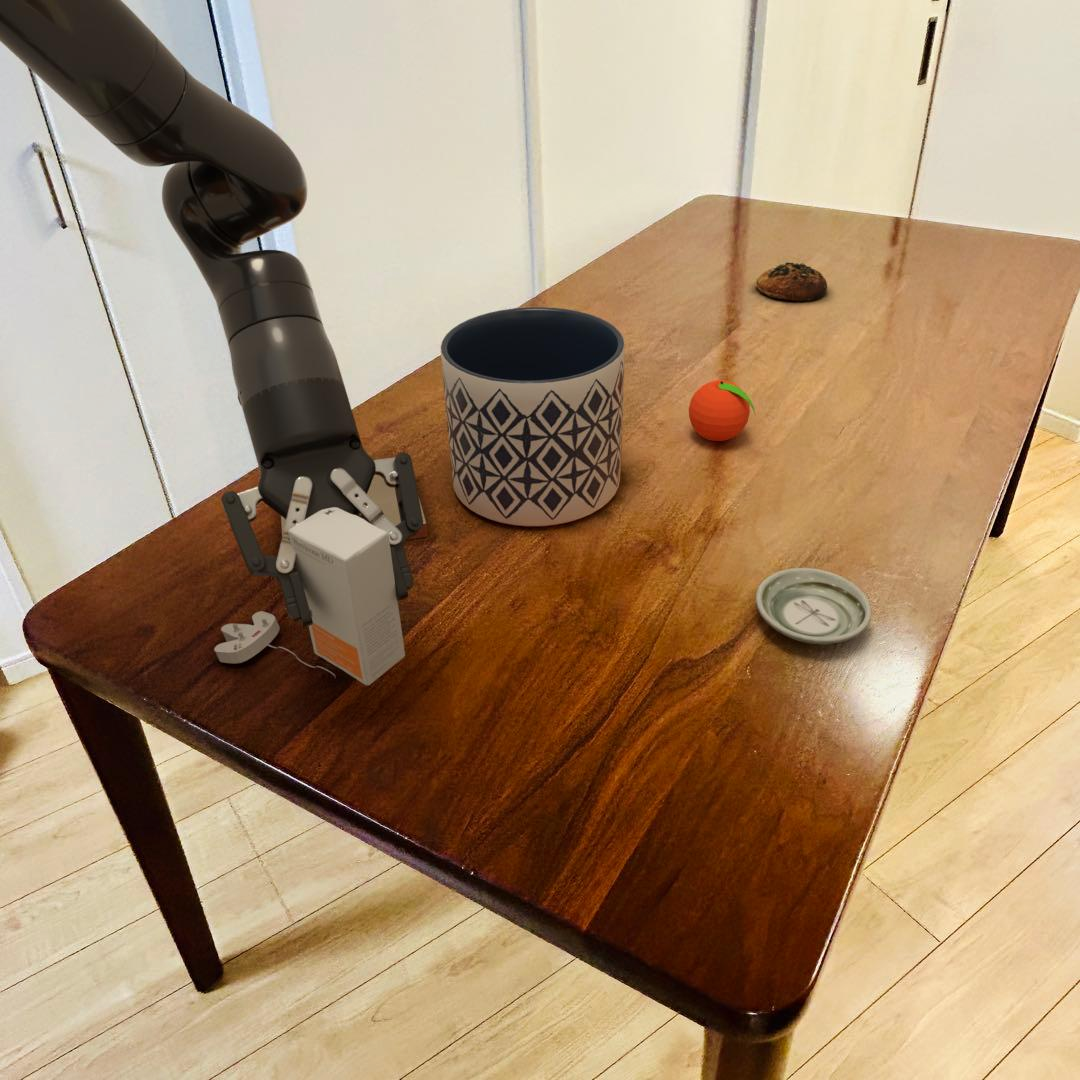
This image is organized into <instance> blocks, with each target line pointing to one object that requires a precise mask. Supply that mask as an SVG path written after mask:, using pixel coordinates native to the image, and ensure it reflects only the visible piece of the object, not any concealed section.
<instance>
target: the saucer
mask: <svg viewBox="0 0 1080 1080" xmlns="http://www.w3.org/2000/svg"><path fill="white" fill-rule="evenodd" d="M755 605H756V609H757V611H758V613H759V615H760V616H761V618H762V619H763V620H764V622H765V623H766V624H768V625H769V626H770V627H771V628H772V629H774V630H775V631H776V632H778V633H780V634H782V636H786V637H787V638H789V639H792V640H794V641H797V642H800V643H805V644H810V645H832V644H840V643H844V642H847V641H850V640H852V639H854V638H856V637H858V636H859V635H861V634H862V633H863V632H865V631H866V629H867V627H868V626H869V625H870V622H871V620H872V616H873V615H872V614H873V613H872V611H873V609H872V606H871V603H870V601H869V599H868V597H867V595H866V594H865V593H864V592H863V590H862V589H860V588H859V587H858V586H857V585H856V584H855V583H853V582H852V581H850V580H848V579H847V578H846V577H844V576H840V575H839V574H836V573H833V572H831V571H827V570H825V569H824V570H823V569H818V568H812V567H793V568H786V569H782V570H779V571H776V572H774V573H772V574H770V575H769V576H767V577H766V578H764V580H762V581H761V582H760V584H759V585H758V587H757V588H756V592H755Z"/></svg>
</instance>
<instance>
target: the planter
mask: <svg viewBox="0 0 1080 1080" xmlns="http://www.w3.org/2000/svg"><path fill="white" fill-rule="evenodd" d="M625 344H626V343H625V339H624V337H623V335H622V333H621V331H620V330H618V328H617V327H616V326H615V325H613V324H611V323H610V322H609V321H607V320H605V319H603V318H601V317H598V316H597V315H596V316H595V315H593V314H590V313H587V312H583V311H579V310H573V309H566V308H559V307H545V306H535V307H532V306H531V307H529V306H528V307H515V308H507V309H506V308H505V309H500V310H495V311H491V312H487V313H483V314H480V315H477V316H474V317H471V318H468V319H467V320H465V321H462V322H461V323H459V324H457V325H455V326H454V327H453V328H452V329H450V331H448V332H447V333H446V334H445V336H444V337H443V339H442V341H441V344H440V358H441V359H440V360H441V371H442V383H443V384H442V385H443V394H444V395H443V396H444V405H445V406H444V407H445V416H446V427H447V437H448V448H449V458H450V459H449V460H450V469H451V478H452V487H453V490H454V493H455V495H456V497H457V498H458V500H459V501H460V502H461V503H462V504H463V505H464V506H465V507H466V508H468V509H469V510H470V511H472V512H474V513H475V514H477V515H479V516H481V517H484V518H485V519H488V520H491V521H494V522H497V523H501V524H505V525H506V524H507V525H512V526H518V527H519V526H520V527H521V526H522V527H546V526H547V527H548V526H554V525H556V526H557V525H561V524H566V523H570V522H573V521H577V520H580V519H582V518H585V517H587V516H590V515H592V514H593V513H595V512H597V511H599V510H600V509H602V508H603V507H605V506H606V505H607V504H608V503H609V502H610V501H611V500H612V499H613V497H614V496H615V495H616V493H617V491H618V490H619V487H620V483H621V482H620V481H621V465H622V441H623V440H622V439H623V418H624V417H623V413H624V412H623V411H624V388H625V387H624V386H625V384H624V382H625V353H626V352H625V349H626V347H625V346H626V345H625Z"/></svg>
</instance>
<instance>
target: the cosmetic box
mask: <svg viewBox="0 0 1080 1080" xmlns="http://www.w3.org/2000/svg"><path fill="white" fill-rule="evenodd" d="M288 534H289V538H290V543H291V546H292V548H293V549H294V550H295V552H296V553H297V554H296V559H295V565H294V567H295V571H296V572H299V574H300V578H301V581H302V585H303V588H304V592H305V595H306V599H307V602H308V606H309V609H310V613H311V617H312V621H313V624H312V625H310V626H308V630H309V634H310V639H311V643H312V648H313V649H312V650H313V652H314V654H315V655H316V656H318V657H320V658H322V659H324V660H325V661H326V662H328V663H329V664H332V665H333V666H335V667H337V668H338V669H340V670H342V671H343V672H345V673H346V674H348V675H349V676H351V677H352V678H354V679H356V680H357V681H358V682H360V683H362V684H363V685H364V686H370V685H372V684H373V683H374V682H375V681H377V680H378V679H379V678H380V677H381V676H383V675H384V674H385V673H386V672H387V671H389V670H390V669H391V668H393V667H394V666H395V665H396V664H398V663H399V662H400V661H402V660H403V659H404V658H405V657H406V651H405V644H404V635H403V630H402V623H401V615H400V608H399V601H398V600H397V593H396V586H395V579H394V572H393V564H392V557H391V550H390V542H389V535H388V532H386V531H384V530H382V529H380V528H378V527H376V526H374V525H372V524H370V523H368V522H367V521H366V520H364V519H362V518H360V517H358V516H356V515H353V514H350V513H348V512H346V511H344V510H342V509H340V508H337V507H332V508H327V509H323V510H320V511H318V512H317V513H315V514H313V515H312V516H310V517H308V518H307V519H305V520H304V521H302V522H300V523H298V524H297V525H295V526H294V527H292V528H291V529H289V530H288Z"/></svg>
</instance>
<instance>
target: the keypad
mask: <svg viewBox="0 0 1080 1080" xmlns="http://www.w3.org/2000/svg"><path fill="white" fill-rule="evenodd" d="M367 495H368V496H369V497H370V498H371V499H372V500H373V501H374V502H375V503H376V504H377V505H378V506H379V507H380V509H381V510H382V511H383V514H384V515H385V516H386V517H387V518H388V519H389V520H390V521H391V522H392V523H393V524H394V525H395V526H396V525H398V524H399V523H401V520H400V514H399V509H398V503H397V498H396V492H395V487H393V488H392V487H389V486H387V485H386V484H385V482H384V479H383V478H382V477H381V476H379V475H374V477H373V480H372V482H371V485H370V488H369V490H368V493H367ZM418 497H419V502H420V507H421V513H422V518H423V526H422V527H421V529H420V530H419V531H418V533H417V534H416V535H415V536H413V537H411V538H409V539H408V540H407V541H409V540H410V541H411V540H417V539H423V538H428V537H429V533H428V523H427V520H426V517H425V516H426V515H425V514H424V509H423V506H422V503H421V500H420V495H418ZM365 506H366V505H365ZM360 515H361V514H360ZM280 522H281V523H280V525H281V536H282V535H283V531H284V527H285V522H286V519H285V518H283V517H282V516H281V515H280Z"/></svg>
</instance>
